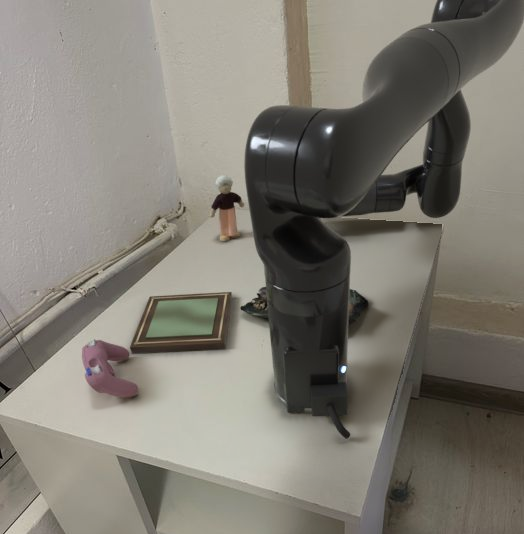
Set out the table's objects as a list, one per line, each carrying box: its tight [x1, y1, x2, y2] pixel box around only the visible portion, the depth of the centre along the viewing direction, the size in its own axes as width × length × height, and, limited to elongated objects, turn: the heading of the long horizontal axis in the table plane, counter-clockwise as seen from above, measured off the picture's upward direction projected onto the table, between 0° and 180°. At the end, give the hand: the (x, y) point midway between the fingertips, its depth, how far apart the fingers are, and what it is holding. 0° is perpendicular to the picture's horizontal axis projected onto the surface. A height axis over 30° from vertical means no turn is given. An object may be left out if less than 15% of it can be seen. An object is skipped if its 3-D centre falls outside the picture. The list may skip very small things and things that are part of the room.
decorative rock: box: [239, 286, 369, 325], centre depth 75 cm, size 19×6×15 cm
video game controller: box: [81, 338, 140, 398], centre depth 65 cm, size 10×5×7 cm, turn 21°
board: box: [129, 291, 233, 355], centre depth 76 cm, size 14×14×1 cm
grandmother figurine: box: [209, 174, 245, 243], centre depth 97 cm, size 8×4×13 cm, turn 132°
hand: (267, 201), depth 96 cm, fingers open, 8 cm apart
